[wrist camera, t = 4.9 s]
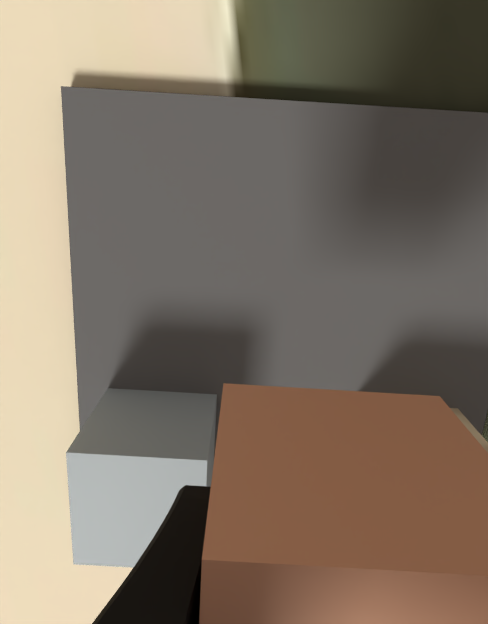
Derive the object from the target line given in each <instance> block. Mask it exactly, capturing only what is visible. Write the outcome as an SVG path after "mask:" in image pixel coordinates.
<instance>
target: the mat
mask: <svg viewBox="0 0 488 624" xmlns="http://www.w3.org/2000/svg"><path fill="white" fill-rule="evenodd" d="M61 93H62V112H63V130H64V148H65V166H66V184H67V203H68V221H69V239H70V257H71V276H72V294H73V312H74V330H75V349H76V367H77V385H78V403H79V421H80V430H81V429H82V427H83V426H84V424H85V423H86V421H87V420H88V418H89V417H90V415H91V414H92V412H93V410H94V409H95V407H96V406H97V404H98V403H99V401H100V400H101V398H102V397H103V395H104V393H105V392H106V390H107V389H108V388H113V389H130V390H148V391H165V392H182V393H200V394H217V403H216V425H215V447H214V456H215V448H216V440H217V432H218V424H219V416H220V408H221V399H222V391H223V383H227V384H244V385H261V386H277V387H294V388H311V389H328V390H345V391H362V392H379V393H396V394H413V395H430V396H440V397H441V398H442V399H443V401H444V402H445V403H446V404H447V405H448V406H449V408H458V409H459V410H460V411H461V413H462V414H463V415H464V416H465V417H466V418H467V419H468V421H469V422H470V423H471V424H472V425H473V426H474V427H475V429H476V430H477V431H478V432H479V433H480V434H481V435H482V432H483V428H484V424H485V420H486V416H487V411H488V113H482V112H466V111H450V110H434V109H418V108H402V107H386V106H370V105H353V104H337V103H321V102H305V101H289V100H273V99H257V98H241V97H224V96H208V95H192V94H176V93H160V92H144V91H128V90H112V89H95V88H79V87H63V86H61Z"/></svg>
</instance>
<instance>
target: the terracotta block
mask: <svg viewBox="0 0 488 624" xmlns="http://www.w3.org/2000/svg"><path fill="white" fill-rule="evenodd" d="M199 624H488V453H487V451H486V450H485V449H484V448H483V447H482V445H481V444H480V443H479V442H478V441H477V440H476V438H475V437H474V436H473V435H472V434H471V432H470V431H469V430H468V429H467V428H466V427H465V425H464V424H463V423H462V422H461V421H460V419H459V418H458V417H457V416H456V415H455V414H454V412H453V411H452V410H451V409H450V408H449V406H448V405H447V404H446V403H445V402H444V401H443V399H442V398H441V397H440V396H430V395H413V394H396V393H379V392H362V391H345V390H328V389H311V388H294V387H277V386H261V385H244V384H227V383H223V391H222V399H221V408H220V416H219V424H218V432H217V440H216V448H215V456H214V464H213V473H212V481H211V489H210V497H209V505H208V513H207V521H206V529H205V538H204V546H203V554H202V567H201V591H200V616H199Z"/></svg>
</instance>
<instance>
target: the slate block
mask: <svg viewBox="0 0 488 624" xmlns="http://www.w3.org/2000/svg"><path fill="white" fill-rule="evenodd" d="M216 403H217V394H200V393H182V392H165V391H148V390H130V389H113V388H108V389H107V390H106V392H105V393H104V395H103V397H102V398H101V400H100V401H99V403H98V404H97V406H96V407H95V409H94V410H93V412H92V414H91V415H90V417H89V418H88V420H87V421H86V423H85V424H84V426H83V427H82V429H81V430H80V432H79V434H78V435H77V437H76V438H75V440H74V441H73V443H72V444H71V446H70V447H69V449H68V451H67V452H66V457H67V472H68V487H69V502H70V518H71V533H72V548H73V563H74V564H79V565H98V566H116V567H134V566H135V565H136V563H137V562H138V560H139V559H140V557H141V556H142V554H143V553H144V551H145V550H146V548H147V547H148V545H149V544H150V542H151V541H152V539H153V537H154V536H155V534H156V532H157V531H158V529H159V527H160V526H161V524H162V522H163V521H164V519H165V517H166V515H167V514H168V512H169V510H170V508H171V506H172V504H173V502H174V500H175V498H176V496H177V494H178V492H179V490H180V489H181V488H182V487H184V486H185V485H191V486H209V487H211V481H212V473H213V464H214V447H215V425H216Z"/></svg>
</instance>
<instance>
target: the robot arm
mask: <svg viewBox="0 0 488 624" xmlns="http://www.w3.org/2000/svg"><path fill="white" fill-rule="evenodd" d="M210 489H211V487H209V486H191V485H185V486H184V487H182V488H181V489H180V490H179V492H178V494H177V496H176V498H175V500H174V502H173V504H172V506H171V508H170V510H169V512H168V514H167V515H166V517H165V519H164V521H163V522H162V524H161V526H160V527H159V529H158V531H157V532H156V534H155V536H154V537H153V539H152V541H151V542H150V544H149V545H148V547H147V548H146V550H145V551H144V553H143V554H142V556H141V557H140V559H139V560H138V562H137V563H136V565H135V566H134V568H133V569H132V571H131V572H130V574H129V575H128V576H127V578H126V579H125V581H124V582H123V583H122V585H121V586H120V587H119V589H118V590H117V591H116V593H115V594H114V595H113V597H112V598H111V599H110V601H109V602H108V603H107V605H106V606H105V607H104V609H103V610H102V611H101V613H100V614H99V615H98V617H97V618H96V619H95V621H94V622H93V623H92V624H199V616H200V591H201V567H202V554H203V546H204V538H205V529H206V521H207V513H208V505H209V497H210Z"/></svg>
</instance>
